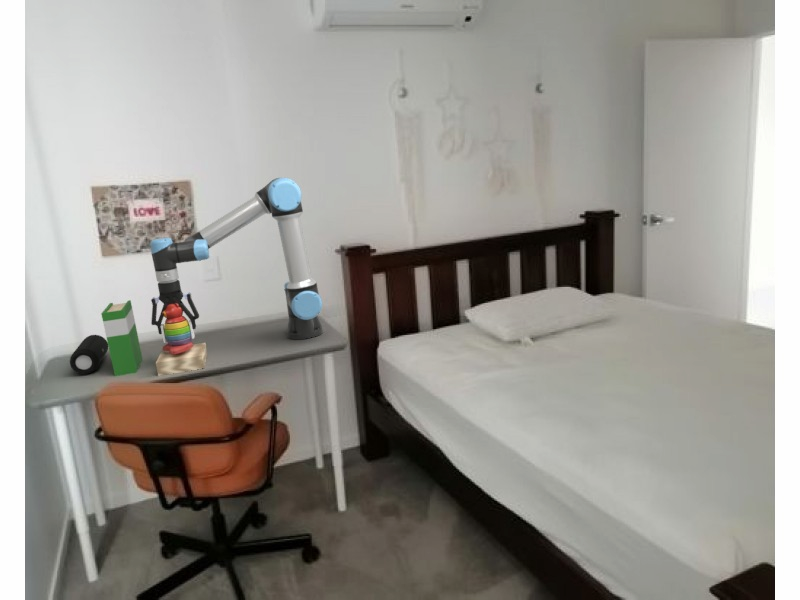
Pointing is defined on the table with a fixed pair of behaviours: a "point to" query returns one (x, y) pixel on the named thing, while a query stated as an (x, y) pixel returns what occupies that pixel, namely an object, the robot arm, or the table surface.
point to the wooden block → (182, 360)
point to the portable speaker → (89, 354)
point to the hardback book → (122, 338)
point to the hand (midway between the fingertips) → (179, 339)
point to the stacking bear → (176, 330)
